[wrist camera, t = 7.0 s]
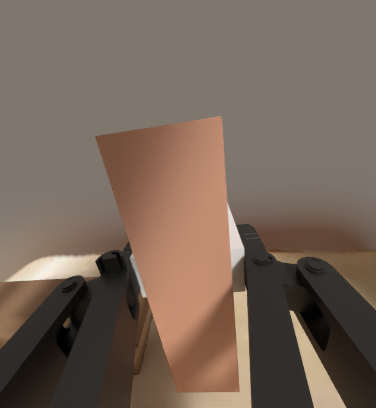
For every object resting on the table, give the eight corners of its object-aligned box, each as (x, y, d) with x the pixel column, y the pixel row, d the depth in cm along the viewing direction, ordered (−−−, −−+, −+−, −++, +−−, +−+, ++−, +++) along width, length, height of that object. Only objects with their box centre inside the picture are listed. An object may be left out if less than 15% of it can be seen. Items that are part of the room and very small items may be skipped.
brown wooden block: (154, 308, 24) (143, 266, 22) (138, 373, 18) (120, 326, 15) (30, 312, 26) (5, 274, 23) (-25, 374, 20) (-68, 331, 17)
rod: (229, 327, 15) (212, 118, 9) (239, 391, 12) (221, 116, 5) (182, 329, 16) (134, 131, 10) (177, 392, 12) (95, 136, 6)
